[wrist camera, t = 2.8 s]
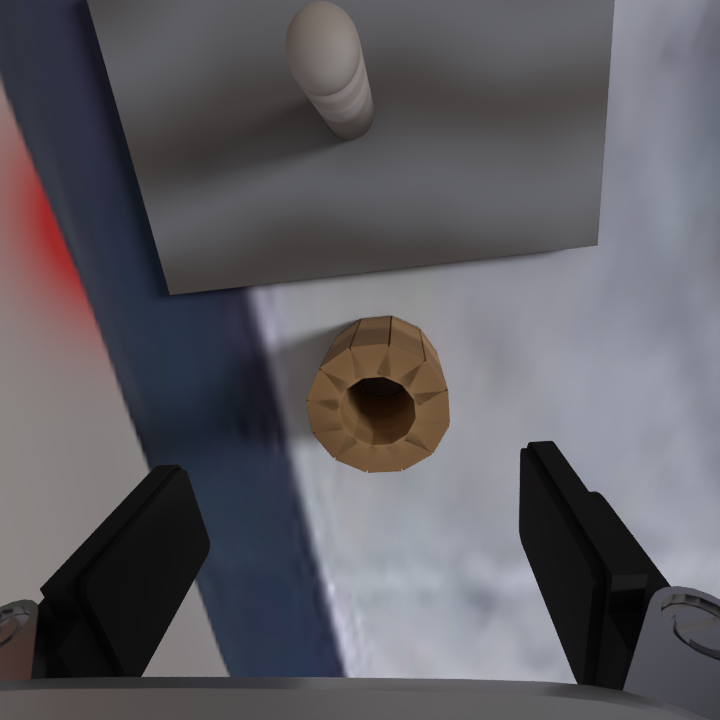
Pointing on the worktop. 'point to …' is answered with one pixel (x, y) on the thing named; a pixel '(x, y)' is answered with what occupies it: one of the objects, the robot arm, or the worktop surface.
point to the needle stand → (358, 131)
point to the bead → (384, 414)
